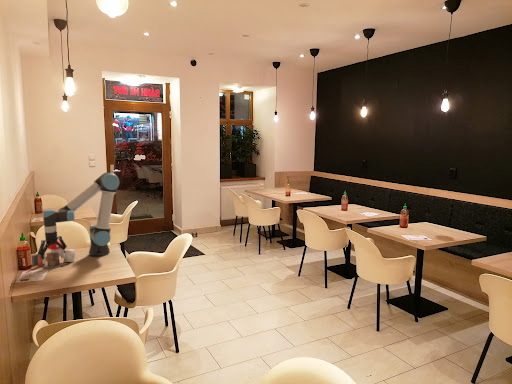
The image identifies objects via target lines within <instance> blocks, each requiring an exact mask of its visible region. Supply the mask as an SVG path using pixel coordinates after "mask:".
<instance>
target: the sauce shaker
mask: <svg viewBox="0 0 512 384" xmlns="http://www.w3.org/2000/svg"><path fill="white" fill-rule="evenodd" d="M44 265H46V264H43V260H42V259H41V255H39V256H38V265H37V266H38V268H39V267H40V268H43V267H42V266H44Z"/></svg>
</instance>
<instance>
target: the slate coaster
mask: <svg viewBox="0 0 512 384" xmlns="http://www.w3.org/2000/svg"><path fill="white" fill-rule="evenodd" d="M64 266H66V263H63V262H60V265H57V266H53V267H51V266H48V263H46V264H45V265H44V266H42V267H41V268H44V269H48V270H53V269H57V268H60V267H64Z"/></svg>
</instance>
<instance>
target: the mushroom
mask: <svg viewBox="0 0 512 384" xmlns="http://www.w3.org/2000/svg"><path fill="white" fill-rule="evenodd" d="M57 241H58V242H59V243H60V244H61V242H60V241H59V240H57ZM61 245H62V244H61ZM62 246H63V245H62ZM60 249H61V248H60V247H59V246H58V245H57V244H53V245H50V246H49V247H48V248H47V250H50V252H53V251H55V252H59V257H61V252H60Z"/></svg>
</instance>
